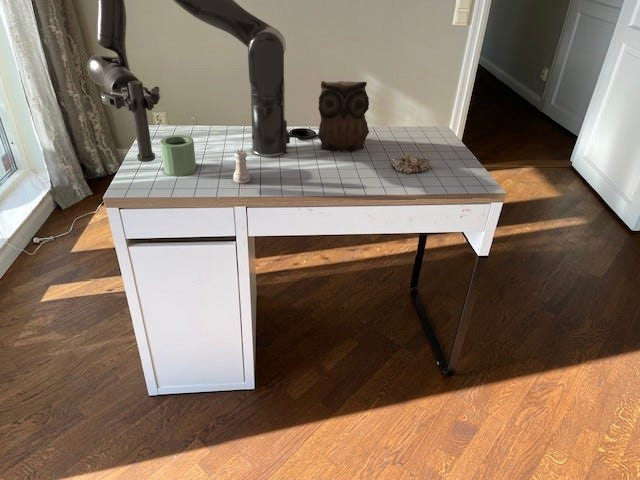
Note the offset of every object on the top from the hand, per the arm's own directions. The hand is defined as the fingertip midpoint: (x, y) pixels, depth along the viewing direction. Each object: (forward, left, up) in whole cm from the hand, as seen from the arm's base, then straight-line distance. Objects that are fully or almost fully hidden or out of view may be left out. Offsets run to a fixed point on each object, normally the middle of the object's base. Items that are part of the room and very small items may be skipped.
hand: (141, 107), depth 108 cm
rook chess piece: (-22, 0, -21) cm, 30 cm away
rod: (+1, -3, -13) cm, 14 cm away
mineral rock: (-69, +5, -21) cm, 72 cm away
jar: (-8, -11, -21) cm, 25 cm away
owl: (-57, -16, -21) cm, 62 cm away
